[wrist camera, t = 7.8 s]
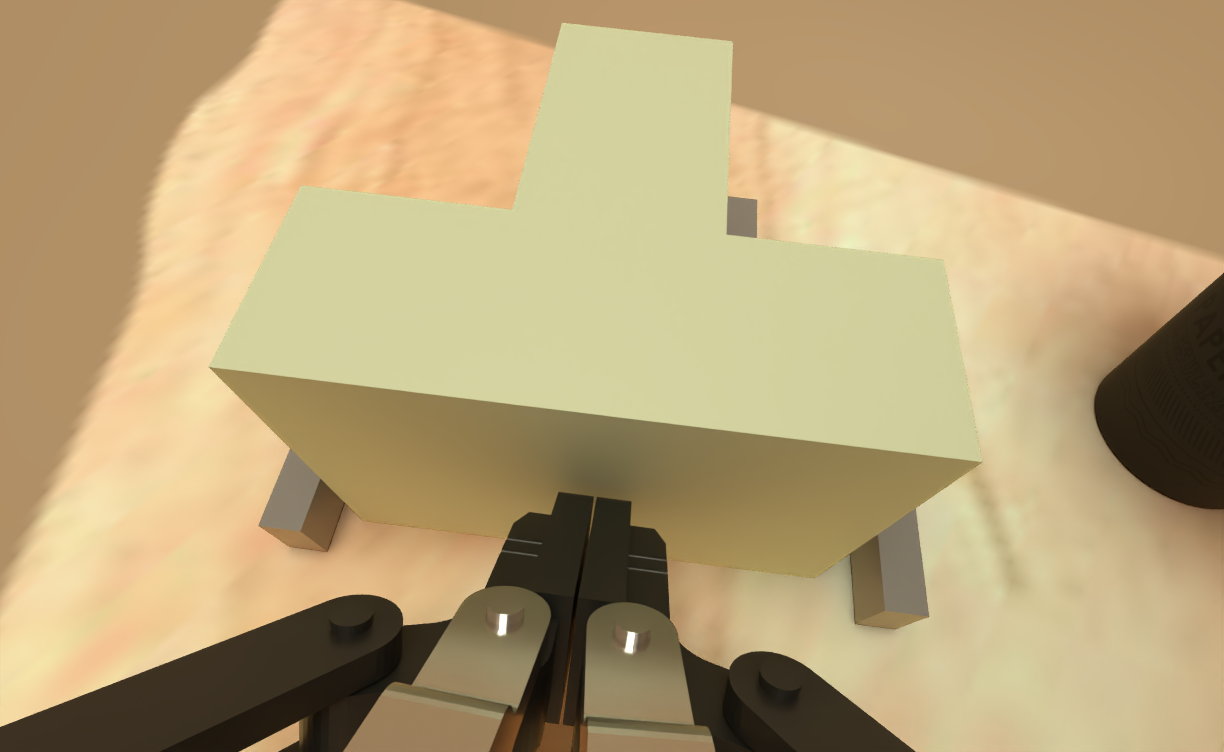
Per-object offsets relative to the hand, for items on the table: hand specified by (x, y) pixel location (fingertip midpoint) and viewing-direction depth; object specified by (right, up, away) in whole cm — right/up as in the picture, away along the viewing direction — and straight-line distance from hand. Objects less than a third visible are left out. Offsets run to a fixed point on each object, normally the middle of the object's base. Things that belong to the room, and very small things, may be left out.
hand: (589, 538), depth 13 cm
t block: (0, +3, +6) cm, 7 cm away
